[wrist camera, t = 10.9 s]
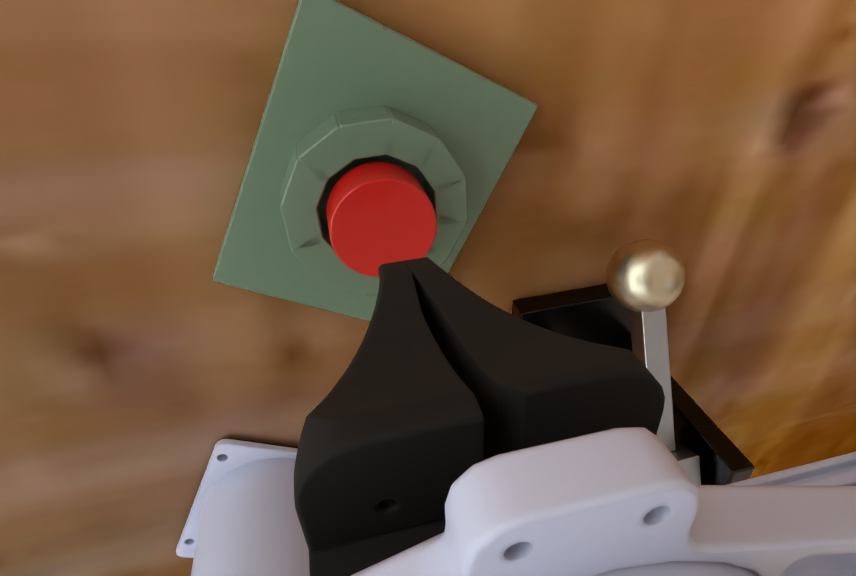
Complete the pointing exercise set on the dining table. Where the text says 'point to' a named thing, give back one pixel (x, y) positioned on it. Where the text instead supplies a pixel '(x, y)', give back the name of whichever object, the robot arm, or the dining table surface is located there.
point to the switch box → (360, 152)
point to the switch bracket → (610, 325)
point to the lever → (652, 322)
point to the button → (379, 217)
